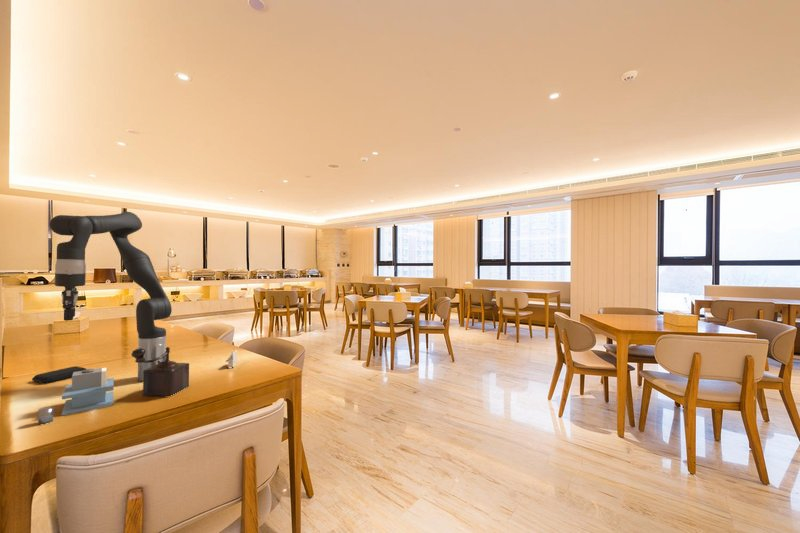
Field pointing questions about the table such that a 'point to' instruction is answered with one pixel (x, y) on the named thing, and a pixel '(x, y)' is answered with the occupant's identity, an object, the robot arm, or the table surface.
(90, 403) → the stand
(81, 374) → the block
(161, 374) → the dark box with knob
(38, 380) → the carrying case or bag
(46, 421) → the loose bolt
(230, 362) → the architectural model
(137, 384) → the table surface
